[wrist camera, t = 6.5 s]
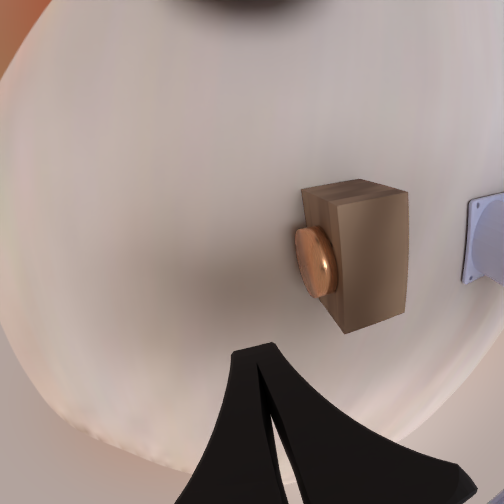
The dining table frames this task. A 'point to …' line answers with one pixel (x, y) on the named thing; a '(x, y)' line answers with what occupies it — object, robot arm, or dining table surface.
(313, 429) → the robot arm
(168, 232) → the dining table surface
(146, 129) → the dining table surface
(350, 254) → the block
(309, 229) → the pin
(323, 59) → the dining table surface
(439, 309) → the dining table surface
